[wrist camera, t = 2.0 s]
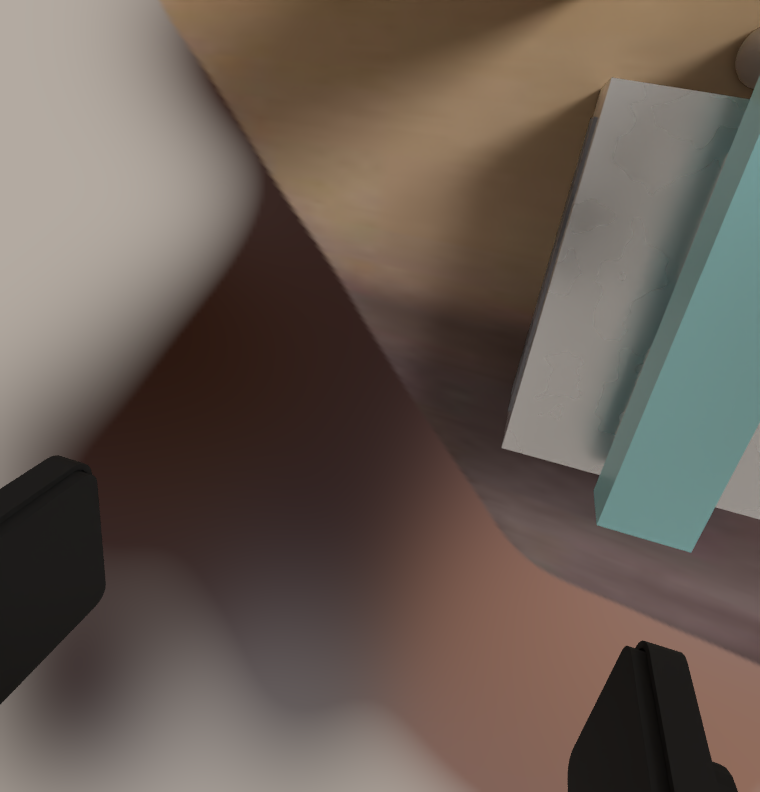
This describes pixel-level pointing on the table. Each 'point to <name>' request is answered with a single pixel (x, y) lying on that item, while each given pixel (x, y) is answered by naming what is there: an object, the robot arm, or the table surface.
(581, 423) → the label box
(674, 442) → the swing bar
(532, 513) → the table surface
